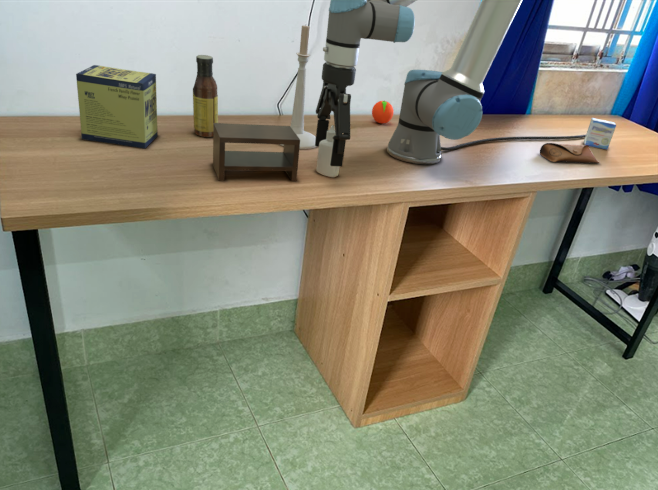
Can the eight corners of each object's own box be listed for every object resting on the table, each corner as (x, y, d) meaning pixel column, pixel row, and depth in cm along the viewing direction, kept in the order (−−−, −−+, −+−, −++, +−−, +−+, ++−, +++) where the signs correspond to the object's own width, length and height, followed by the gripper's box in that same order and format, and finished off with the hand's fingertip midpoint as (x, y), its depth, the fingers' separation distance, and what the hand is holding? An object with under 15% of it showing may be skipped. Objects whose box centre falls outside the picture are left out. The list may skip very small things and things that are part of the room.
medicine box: (584, 145, 210) (592, 120, 205) (583, 141, 213) (591, 117, 209) (607, 150, 209) (616, 125, 204) (606, 146, 212) (615, 121, 208)
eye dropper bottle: (329, 169, 155) (335, 121, 148) (340, 177, 151) (346, 129, 144) (314, 170, 152) (319, 122, 146) (324, 178, 149) (329, 129, 142)
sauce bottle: (207, 129, 167) (208, 52, 157) (222, 136, 164) (224, 58, 154) (187, 132, 163) (187, 54, 152) (203, 139, 160) (203, 60, 149)
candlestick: (266, 143, 165) (273, 22, 149) (280, 130, 175) (288, 17, 160) (312, 152, 164) (325, 31, 148) (323, 139, 175) (335, 25, 159)
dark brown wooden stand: (286, 165, 152) (290, 126, 147) (296, 181, 145) (300, 139, 139) (212, 164, 146) (213, 122, 141) (218, 180, 138) (219, 137, 133)
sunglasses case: (554, 162, 186) (553, 139, 185) (539, 166, 192) (539, 144, 192) (601, 163, 192) (601, 141, 192) (586, 167, 199) (585, 146, 198)
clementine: (392, 128, 194) (396, 105, 190) (370, 125, 193) (374, 102, 189) (390, 121, 200) (394, 99, 197) (369, 118, 200) (373, 96, 196)
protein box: (146, 149, 148) (143, 83, 140) (80, 140, 147) (74, 72, 139) (159, 136, 157) (157, 73, 149) (97, 127, 156) (91, 63, 148)
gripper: (309, 50, 146) (300, 137, 157) (340, 77, 127) (327, 174, 138) (339, 53, 149) (328, 139, 160) (374, 80, 130) (358, 175, 141)
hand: (328, 155), depth 149 cm, fingers open, 13 cm apart
